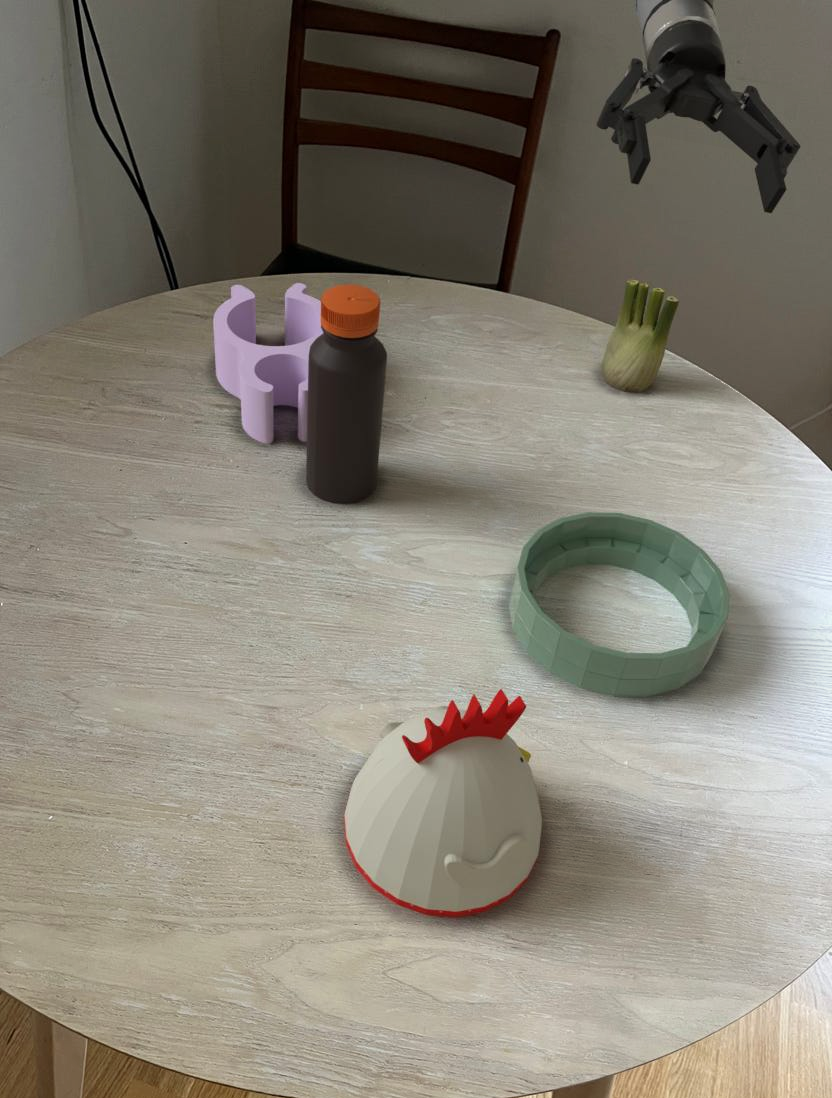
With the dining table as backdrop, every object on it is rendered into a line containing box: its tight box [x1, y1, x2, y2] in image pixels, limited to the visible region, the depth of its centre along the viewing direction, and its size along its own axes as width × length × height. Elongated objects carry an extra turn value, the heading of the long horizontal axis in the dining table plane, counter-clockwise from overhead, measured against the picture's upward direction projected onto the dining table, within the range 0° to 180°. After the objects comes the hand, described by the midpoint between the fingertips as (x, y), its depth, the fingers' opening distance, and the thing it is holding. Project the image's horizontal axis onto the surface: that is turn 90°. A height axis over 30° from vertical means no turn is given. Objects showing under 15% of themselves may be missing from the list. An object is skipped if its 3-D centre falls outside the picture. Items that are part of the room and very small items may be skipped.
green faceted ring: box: [508, 511, 731, 698], centre depth 90 cm, size 17×17×6 cm
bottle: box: [305, 284, 388, 505], centre depth 96 cm, size 7×7×20 cm
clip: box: [212, 282, 323, 445], centre depth 111 cm, size 20×12×7 cm, turn 8°
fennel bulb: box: [601, 279, 680, 393], centre depth 113 cm, size 6×5×12 cm
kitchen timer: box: [343, 688, 543, 918], centre depth 72 cm, size 14×14×15 cm
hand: (708, 186), depth 101 cm, fingers open, 13 cm apart
